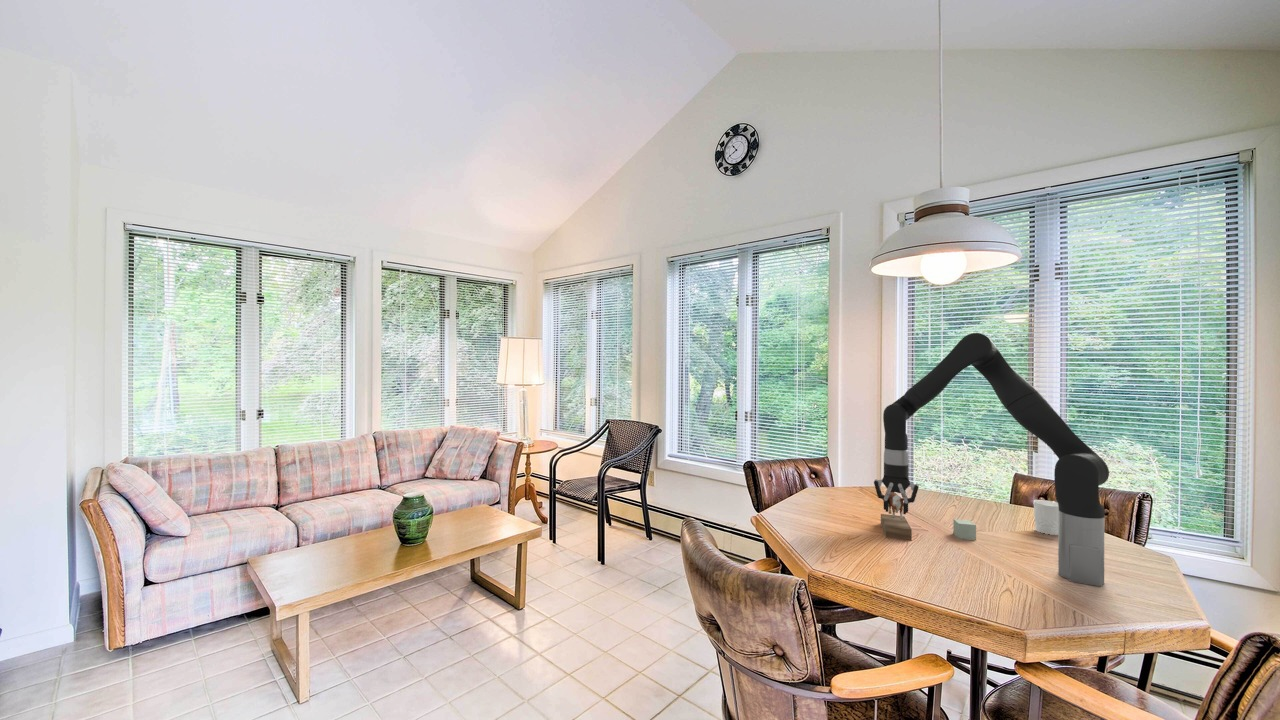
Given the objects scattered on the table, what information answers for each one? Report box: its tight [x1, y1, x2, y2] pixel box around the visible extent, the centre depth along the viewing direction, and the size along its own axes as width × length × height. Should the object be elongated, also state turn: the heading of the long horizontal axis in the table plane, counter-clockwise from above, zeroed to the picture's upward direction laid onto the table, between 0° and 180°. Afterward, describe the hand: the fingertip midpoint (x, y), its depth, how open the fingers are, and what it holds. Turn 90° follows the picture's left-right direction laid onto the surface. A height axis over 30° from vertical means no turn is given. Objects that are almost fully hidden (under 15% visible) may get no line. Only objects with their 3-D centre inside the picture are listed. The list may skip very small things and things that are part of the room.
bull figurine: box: [887, 492, 904, 519], centre depth 168 cm, size 4×13×8 cm, turn 160°
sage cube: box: [952, 518, 977, 541], centre depth 164 cm, size 5×5×5 cm
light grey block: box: [1033, 499, 1059, 536], centre depth 170 cm, size 8×8×10 cm
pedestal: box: [880, 513, 913, 542], centre depth 168 cm, size 15×8×4 cm, turn 160°
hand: (895, 512), depth 168 cm, fingers closed on bull figurine, 4 cm apart
